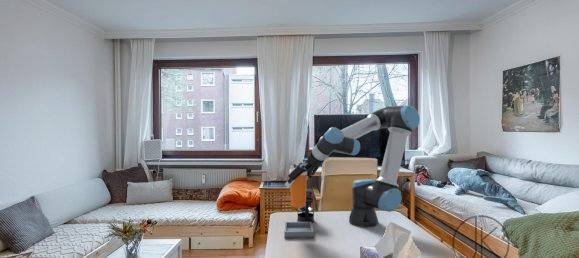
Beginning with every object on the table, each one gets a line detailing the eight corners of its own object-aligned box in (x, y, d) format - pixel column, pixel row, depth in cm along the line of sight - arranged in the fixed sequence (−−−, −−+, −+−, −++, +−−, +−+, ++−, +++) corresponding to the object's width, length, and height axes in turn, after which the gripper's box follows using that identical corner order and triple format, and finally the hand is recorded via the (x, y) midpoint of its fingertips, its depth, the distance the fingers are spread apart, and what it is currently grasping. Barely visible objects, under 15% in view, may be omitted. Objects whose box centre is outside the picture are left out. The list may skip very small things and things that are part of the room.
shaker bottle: (306, 208, 140) (305, 166, 140) (287, 207, 142) (287, 165, 142) (308, 203, 149) (308, 163, 149) (291, 202, 151) (291, 163, 150)
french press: (316, 223, 159) (316, 180, 158) (298, 224, 157) (298, 181, 157) (311, 216, 170) (311, 176, 170) (295, 217, 169) (295, 177, 168)
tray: (311, 227, 153) (311, 221, 153) (313, 238, 139) (313, 231, 139) (285, 227, 153) (284, 221, 153) (284, 238, 139) (284, 231, 139)
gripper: (306, 164, 126) (281, 194, 138) (337, 159, 142) (311, 187, 153) (297, 150, 130) (273, 181, 142) (328, 147, 145) (304, 175, 157)
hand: (293, 184), depth 148 cm, fingers closed on shaker bottle, 9 cm apart
